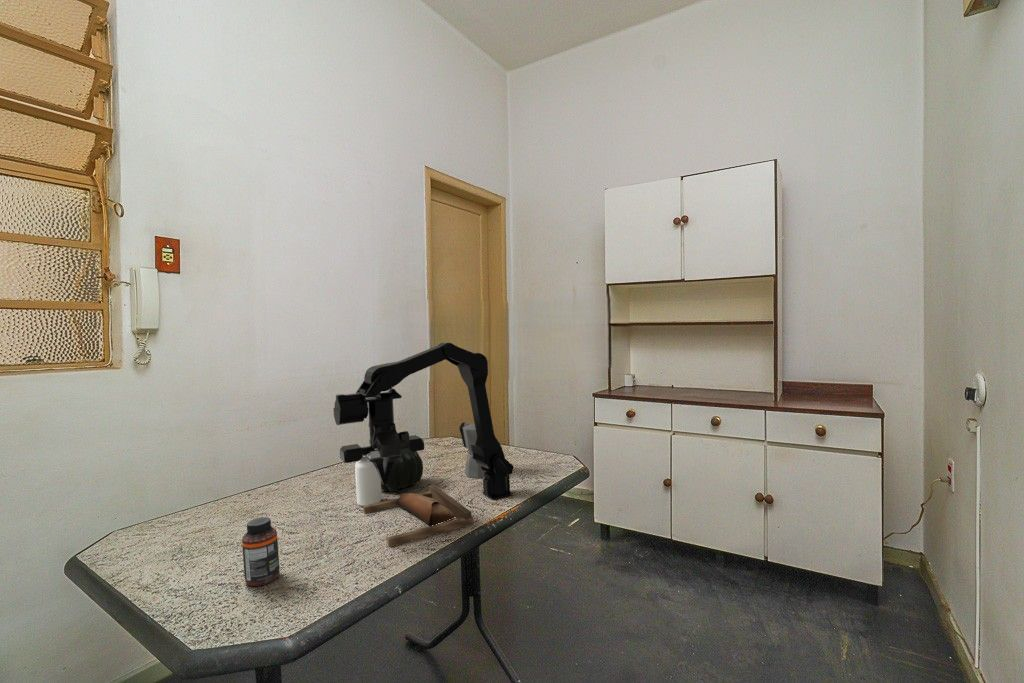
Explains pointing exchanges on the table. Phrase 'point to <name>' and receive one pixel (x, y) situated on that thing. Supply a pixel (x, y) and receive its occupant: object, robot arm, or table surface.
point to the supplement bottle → (260, 552)
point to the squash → (404, 471)
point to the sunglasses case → (425, 508)
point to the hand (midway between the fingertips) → (384, 484)
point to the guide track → (443, 499)
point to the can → (367, 483)
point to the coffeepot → (470, 450)
